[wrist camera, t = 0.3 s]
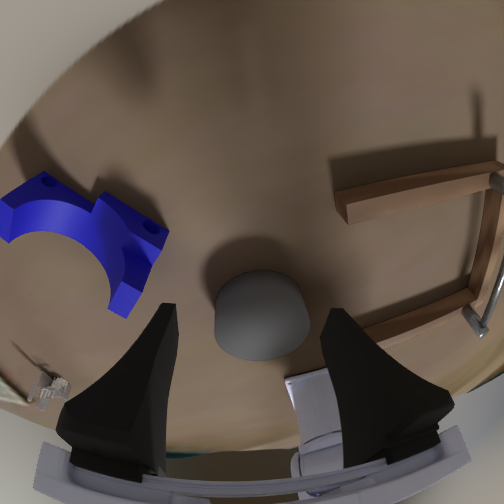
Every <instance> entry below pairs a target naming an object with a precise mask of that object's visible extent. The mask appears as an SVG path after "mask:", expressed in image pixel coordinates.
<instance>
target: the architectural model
mask: <svg viewBox="0 0 504 504" xmlns="http://www.w3.org/2000/svg"><path fill="white" fill-rule="evenodd" d="M31 296H32V295H31ZM55 378H56V377H55ZM55 378H54V380H53V379H52V378H51V377H49V376H48V375H47V374H46V373H45V372H44V371H42V374H41V376H40V378H39V381H38V383H36V382H34V383H33V386H32V388H31V391H30V394H29V396H28V401H30V402H31V400H32V398H33V395H34V392H35V390H36V387H37V385H38V386H39V387H41V388H42V390H41V392H40V394H39V397H38V400H37V403H36V406H35V407H37V408H39V409H40V410H42V411H43V412H44V413H45V411H46V407H47V404H48V401H49V399H50V396H51V397H52V398H53V397H62V398H64V399H65V400H67V399H68V395H69V392H70V389H71V385H70V384H68V382H67V381H66V380H65V379H63V378H62V377H61V378H58V377H57V379H56V380H55Z"/></svg>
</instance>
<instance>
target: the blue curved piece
mask: <svg viewBox="0 0 504 504" xmlns="http://www.w3.org/2000/svg"><path fill="white" fill-rule="evenodd" d="M34 231H50V232H55V233H59V234H63V235H65V236H68V237H70V238H72V239H74V240H76V241H78V242H79V243H81V244H82V245H84V246H85V247H86V248H87V249H89V250H90V251H91V252H92V253H93V254H94V255H95V256H96V257H97V259H98V260H99V261H100V263H101V264H102V266H103V267H104V269H105V271H106V273H107V276H108V279H109V282H110V288H111V297H110V303H109V306H108V309H109V310H111V311H113V312H114V313H116V314H118V315H120V316H122V317H124V318H127V317H128V315H129V313H130V312H131V310H132V308H133V307H134V305H135V304H136V302H137V300H138V299H139V297H140V295H141V294H142V292H143V289H144V286H145V284H146V281H147V278H148V276H149V273H150V270H151V268H152V265H153V264H154V262H155V260H156V259H157V257H158V256H159V254H160V253H161V251H162V249H163V246H164V244H165V241H166V238H167V236H168V233H169V231H168V230H167V229H165V228H163V227H162V226H160V225H158V224H157V223H155V222H154V221H152V220H150V219H149V218H147V217H145V216H144V215H142V214H141V213H139V212H137V211H136V210H134V209H133V208H131V207H129V206H128V205H126V204H124V203H123V202H121V201H120V200H118V199H117V198H115V197H113V196H112V195H110V194H109V193H107V192H104V193H103V194H101V195H100V196H99V197H98V199H97V201H96V203H95V204H93V203H91V202H90V201H88V200H87V199H85V198H84V197H82V196H81V195H79V194H78V193H76V192H74V191H73V190H71V189H70V188H68V187H67V186H65V185H64V184H62V183H61V182H59V181H58V180H56V179H55V178H53V177H52V176H51V175H49V174H48V173H46V172H45V171H43V172H42V173H40V174H38V175H37V176H35V177H33V178H32V179H30V180H28V181H27V182H25V183H23V184H22V185H20V186H19V187H17V188H16V189H14V190H13V191H11V192H10V193H8V194H7V195H5V196H4V197H2V198H1V199H0V237H1V238H3V239H4V240H5V241H6V242H8V243H10V242H11V241H12V240H13V239H15V238H16V237H18V236H20V235H23V234H25V233H29V232H34Z"/></svg>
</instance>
